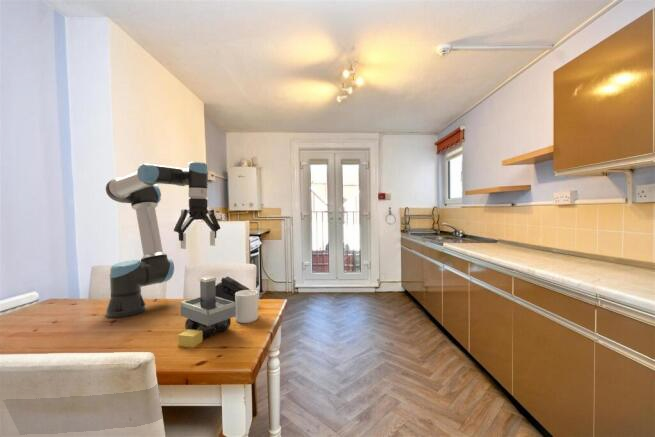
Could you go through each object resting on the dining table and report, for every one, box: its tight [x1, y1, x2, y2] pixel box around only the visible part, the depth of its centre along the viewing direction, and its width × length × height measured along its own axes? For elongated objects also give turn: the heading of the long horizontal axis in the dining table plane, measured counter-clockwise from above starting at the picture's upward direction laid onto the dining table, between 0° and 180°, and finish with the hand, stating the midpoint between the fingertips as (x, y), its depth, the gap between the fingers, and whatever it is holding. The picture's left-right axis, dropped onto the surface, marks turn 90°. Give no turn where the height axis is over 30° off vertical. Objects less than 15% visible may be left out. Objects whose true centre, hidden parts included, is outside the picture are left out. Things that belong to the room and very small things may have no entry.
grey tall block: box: [198, 275, 217, 308], centre depth 113 cm, size 4×4×11 cm
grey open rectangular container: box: [180, 296, 236, 339], centre depth 113 cm, size 18×13×12 cm
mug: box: [235, 289, 259, 324], centre depth 127 cm, size 10×12×12 cm
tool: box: [216, 276, 251, 302], centre depth 142 cm, size 6×19×15 cm
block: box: [177, 329, 204, 348], centre depth 103 cm, size 6×5×4 cm
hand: (198, 247), depth 126 cm, fingers open, 13 cm apart
